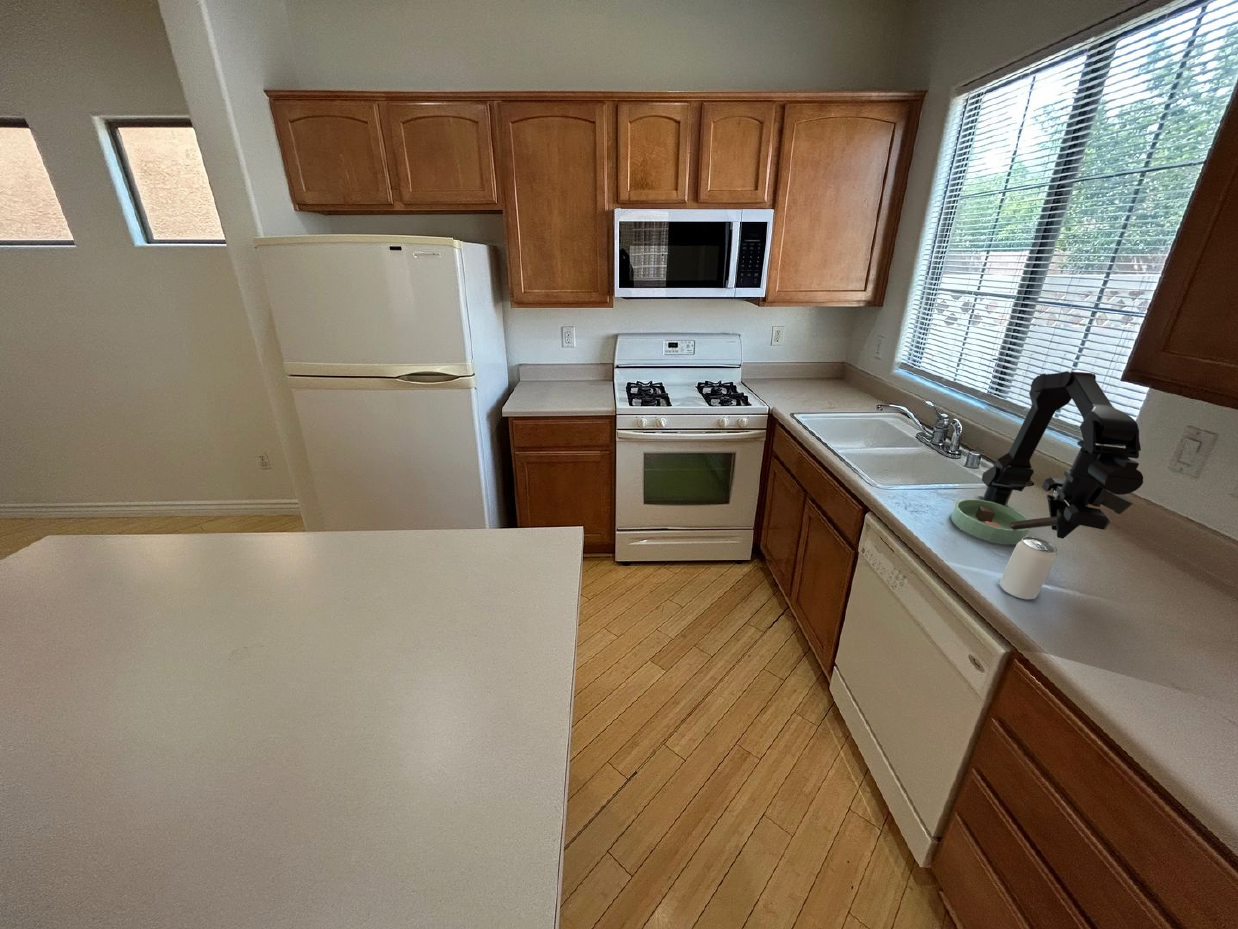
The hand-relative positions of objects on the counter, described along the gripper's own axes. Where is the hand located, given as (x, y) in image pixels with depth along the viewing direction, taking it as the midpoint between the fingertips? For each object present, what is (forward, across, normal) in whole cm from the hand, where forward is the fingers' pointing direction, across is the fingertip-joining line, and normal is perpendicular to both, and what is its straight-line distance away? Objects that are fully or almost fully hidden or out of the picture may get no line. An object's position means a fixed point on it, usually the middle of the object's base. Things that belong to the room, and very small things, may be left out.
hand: (1057, 533), depth 108 cm
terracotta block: (+8, +8, +9) cm, 14 cm away
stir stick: (+3, +6, +6) cm, 9 cm away
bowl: (+8, +13, +9) cm, 18 cm away
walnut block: (+8, +17, +9) cm, 21 cm away
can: (+8, -16, +8) cm, 19 cm away
